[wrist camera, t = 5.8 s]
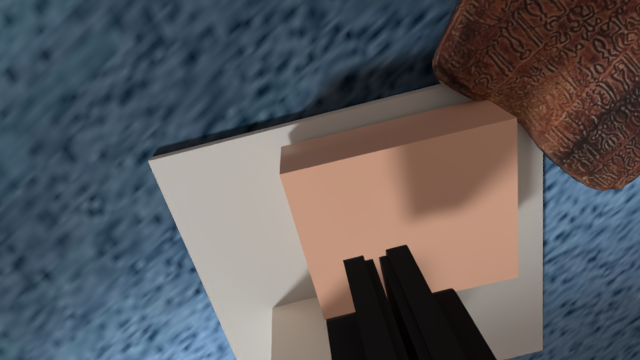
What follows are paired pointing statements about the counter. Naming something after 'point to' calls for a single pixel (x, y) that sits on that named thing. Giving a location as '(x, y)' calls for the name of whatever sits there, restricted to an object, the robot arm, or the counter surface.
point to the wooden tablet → (555, 77)
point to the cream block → (299, 332)
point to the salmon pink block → (409, 198)
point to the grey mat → (283, 241)
